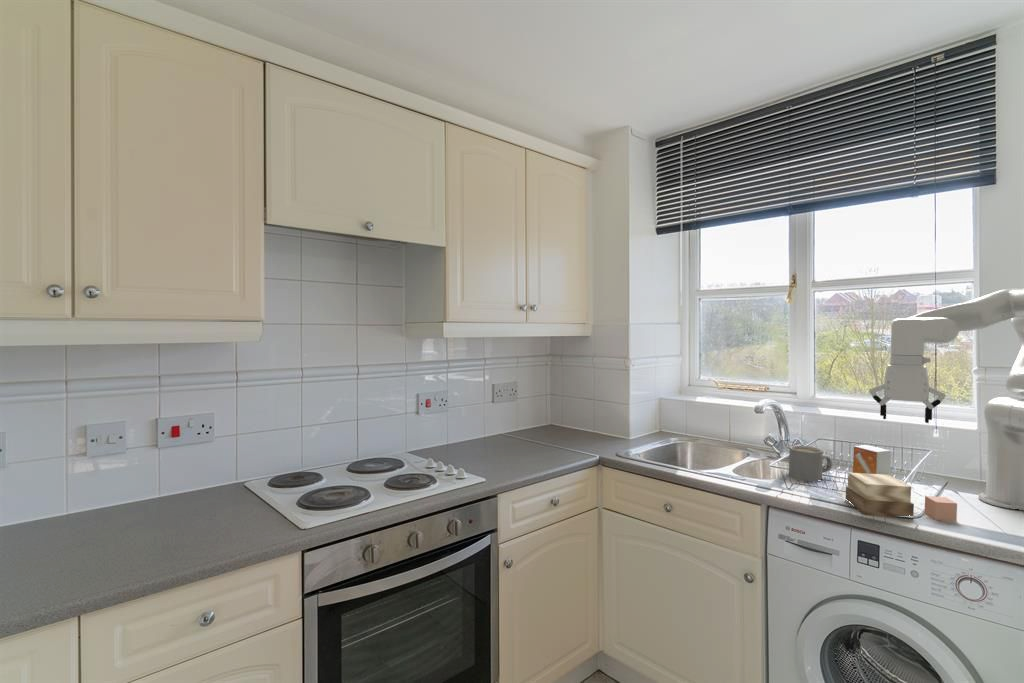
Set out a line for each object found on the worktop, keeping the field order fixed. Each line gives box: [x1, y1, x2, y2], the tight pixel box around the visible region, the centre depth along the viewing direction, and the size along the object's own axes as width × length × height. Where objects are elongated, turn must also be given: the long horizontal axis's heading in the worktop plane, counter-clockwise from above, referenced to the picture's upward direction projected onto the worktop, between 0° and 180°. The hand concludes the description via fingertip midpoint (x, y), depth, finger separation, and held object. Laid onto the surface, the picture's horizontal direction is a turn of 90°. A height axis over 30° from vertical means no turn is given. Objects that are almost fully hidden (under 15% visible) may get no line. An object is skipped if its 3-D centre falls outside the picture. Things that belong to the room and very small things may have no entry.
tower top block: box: [847, 472, 912, 503], centre depth 146 cm, size 11×11×4 cm
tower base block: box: [845, 486, 915, 518], centre depth 146 cm, size 12×12×4 cm
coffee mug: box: [788, 444, 833, 482], centre depth 174 cm, size 13×10×10 cm
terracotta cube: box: [924, 495, 958, 523], centre depth 140 cm, size 5×5×5 cm
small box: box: [852, 444, 892, 475], centre depth 164 cm, size 8×6×13 cm
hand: (905, 420), depth 146 cm, fingers open, 9 cm apart
